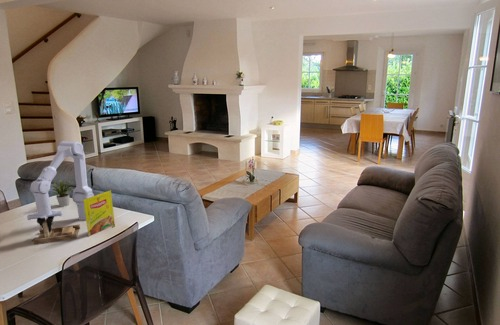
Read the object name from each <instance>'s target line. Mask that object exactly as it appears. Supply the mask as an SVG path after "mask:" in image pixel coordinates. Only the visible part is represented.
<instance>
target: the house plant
mask: <svg viewBox="0 0 500 325" xmlns="http://www.w3.org/2000/svg"><path fill="white" fill-rule="evenodd" d="M66 181H67V179H65V180H64V182H63V179H59V184H58V183H56V182H53V188H52V191H54V192H53V196H55V195H56V196H55V197H56V200H57V203H58V205H59V207H60V208H61V207H62V208H64V206H65V207H68V206H70V193H69V192H70V191H73V190H74V187H73V186H74V184H73V183H75V182H72V184H71V181H72V180H69V181H67V183H66ZM57 194H58V195H57Z"/></svg>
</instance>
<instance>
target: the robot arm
mask: <svg viewBox="0 0 500 325" xmlns="http://www.w3.org/2000/svg"><path fill="white" fill-rule="evenodd" d="M56 149H57V151H56V153H55V154H54V157H53V158H52V160H51V162H50V164H49V165H47V166H45V167H43V169H42V170H41V173H40V174H39V176H38V177H37V179H36V180H32V182H31V183H30V187H29V190H30V192H32V195H33V196H34V202H35V207H36V213H32V214H27V216H26V218H27V221H30V220H35V219H36V223H37V224H38V225H39V226H40V227H41V229H43V225H42V224H43V222H44V221H45V219H46V218H47V219H46V221H47V224H48V229H49V232H51V230H52V228H53V222H54V219H55V217H63V211H62V210H61V211H60V210H58V211H57V210H53V211H52V208H51V207H52V206H51V201H50V195H49V191H50V190H51V186H52V181H53V180H54V179H55V177H56V175H57V174H58V172H57V169H58V168H59V167H60V165H61V164H62V162H64V160H65V159H66V158H68V157H69V158H70V157H71V158H73V166H74V176H75V186H76V187H74V188H73V190H72V191H73V192H72V201H73V202H74V203H75V205H76V207H77V213H78V219H79V220H81V221H86V215H85V209H84V202H83V200H84V199H87V198H90V197H93V196H95V194H94V193H93V188H91V187H90V186H89V184H88V177H87V176H88V175H87V167H86V166H87V165H86V154H85V152H84V144H83V143H80V142H79V141H66V140H63V141H60V143H59V144H58V146H57V147H56ZM43 231H44V230H43Z"/></svg>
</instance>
